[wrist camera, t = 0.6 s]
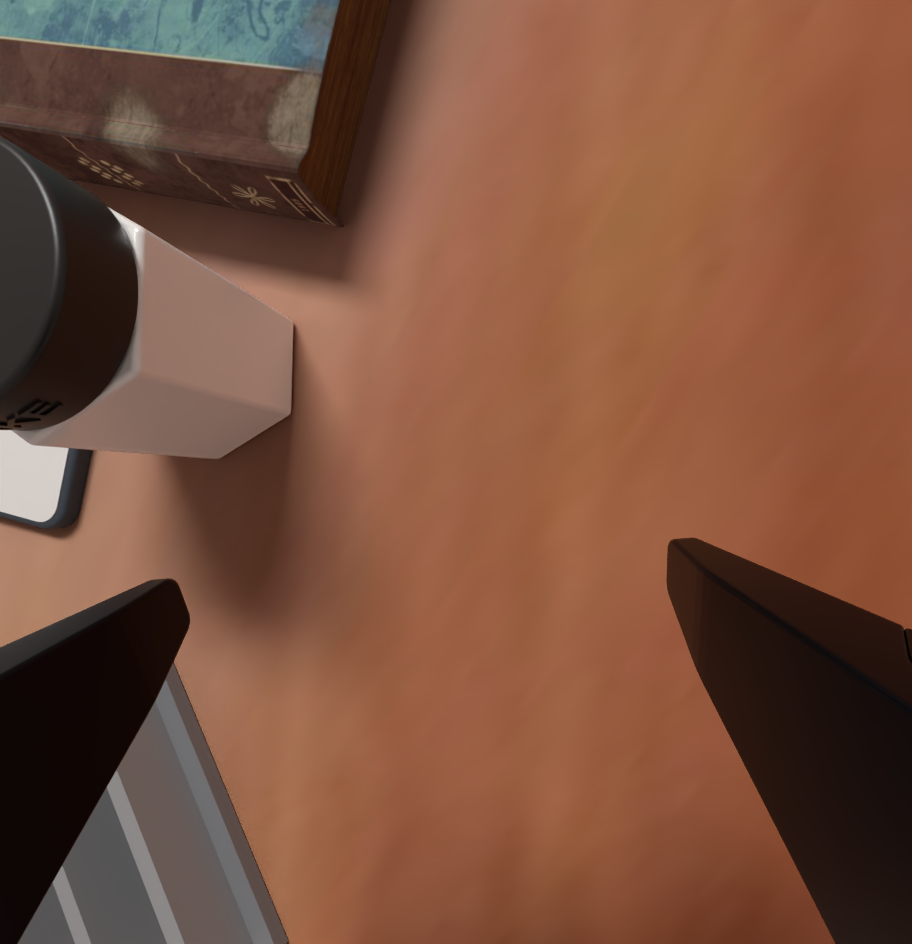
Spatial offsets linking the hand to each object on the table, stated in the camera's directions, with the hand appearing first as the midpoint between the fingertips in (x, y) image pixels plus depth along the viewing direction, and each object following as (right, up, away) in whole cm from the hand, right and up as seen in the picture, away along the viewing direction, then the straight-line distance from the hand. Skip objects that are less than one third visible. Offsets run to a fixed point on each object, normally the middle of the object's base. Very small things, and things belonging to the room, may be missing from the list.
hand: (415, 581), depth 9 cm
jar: (-11, +7, +17) cm, 21 cm away
